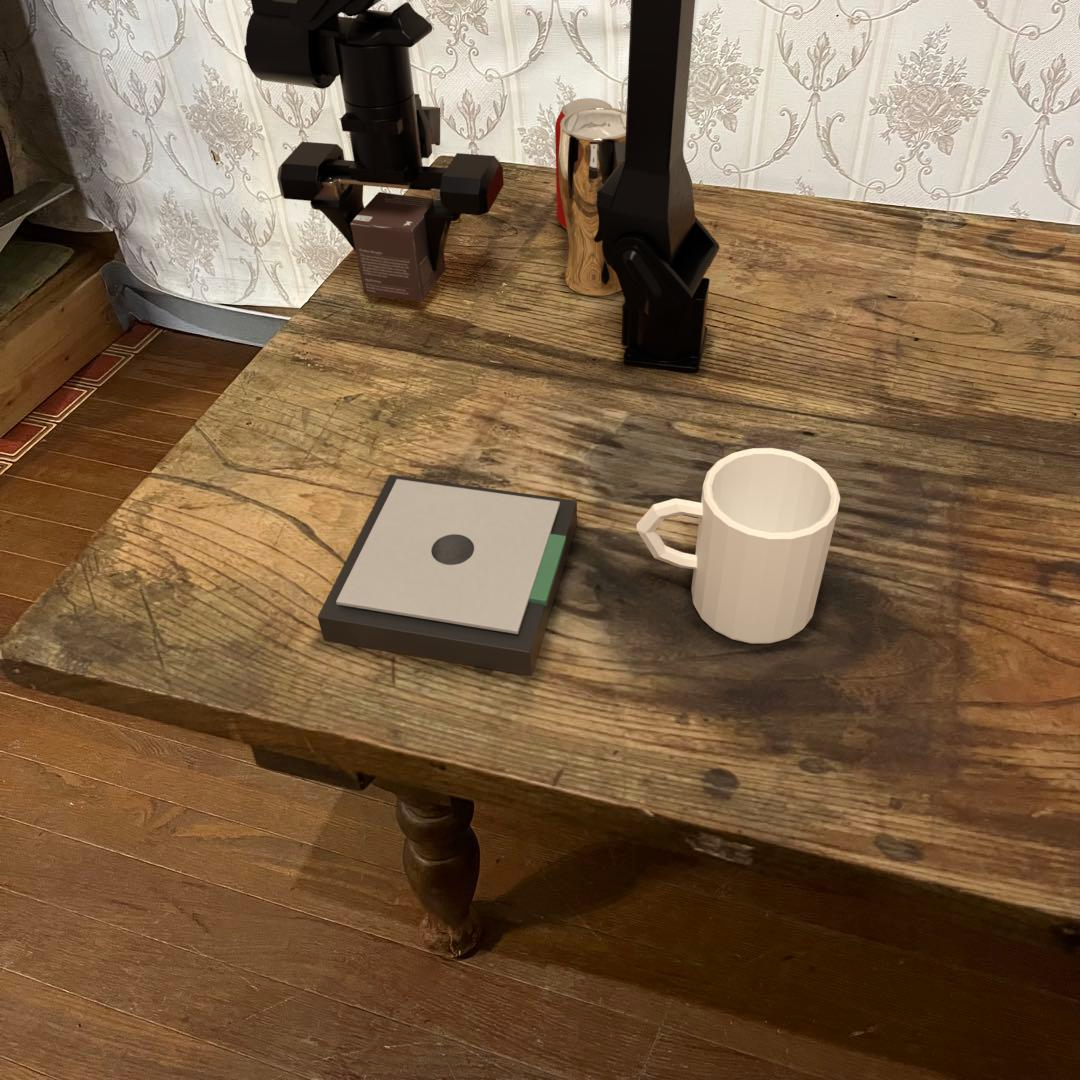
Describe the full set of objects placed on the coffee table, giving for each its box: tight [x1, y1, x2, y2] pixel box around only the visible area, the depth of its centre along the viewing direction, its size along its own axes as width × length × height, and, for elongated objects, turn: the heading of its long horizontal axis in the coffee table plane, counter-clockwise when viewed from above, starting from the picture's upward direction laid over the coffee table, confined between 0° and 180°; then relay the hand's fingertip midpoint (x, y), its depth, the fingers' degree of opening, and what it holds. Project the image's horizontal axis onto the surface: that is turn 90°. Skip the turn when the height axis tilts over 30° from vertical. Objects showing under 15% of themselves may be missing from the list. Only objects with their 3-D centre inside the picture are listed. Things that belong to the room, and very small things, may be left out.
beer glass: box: [559, 107, 627, 297], centre depth 93 cm, size 7×7×15 cm
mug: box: [635, 447, 841, 645], centre depth 66 cm, size 8×12×10 cm
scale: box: [317, 474, 578, 677], centre depth 70 cm, size 14×14×3 cm
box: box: [350, 191, 447, 303], centre depth 94 cm, size 6×6×7 cm
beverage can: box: [554, 97, 613, 230], centre depth 101 cm, size 6×6×12 cm
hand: (403, 265), depth 95 cm, fingers closed on box, 6 cm apart
